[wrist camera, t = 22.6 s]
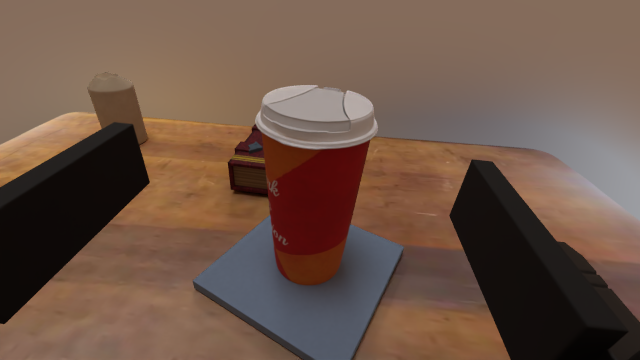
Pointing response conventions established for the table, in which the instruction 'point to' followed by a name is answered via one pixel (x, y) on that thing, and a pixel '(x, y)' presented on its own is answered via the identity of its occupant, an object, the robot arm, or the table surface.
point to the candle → (116, 102)
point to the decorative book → (249, 165)
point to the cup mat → (303, 293)
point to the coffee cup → (313, 174)
